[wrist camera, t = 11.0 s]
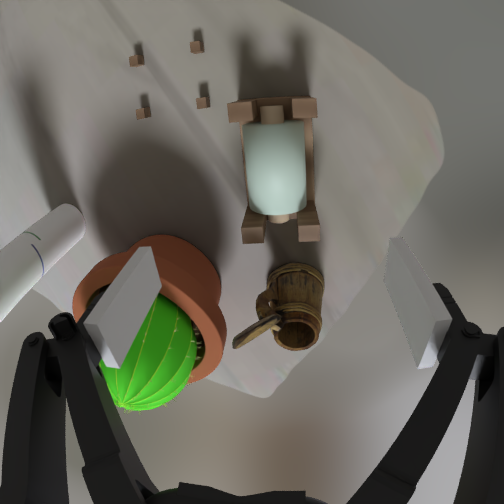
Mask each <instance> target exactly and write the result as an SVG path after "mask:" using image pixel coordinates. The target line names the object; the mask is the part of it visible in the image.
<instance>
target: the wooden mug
mask: <svg viewBox="0 0 504 504" xmlns="http://www.w3.org/2000/svg"><path fill="white" fill-rule="evenodd" d="M323 293H324V279H323V277H322V275H321V274H320V272H319V271H318V270H316V269H315V268H313V267H312V266H309V265H307V264H302V263H289V264H286V265H283V266H281V267H279V268H278V269H276V270H275V271H274V272H272V273H271V274H270V276H269V278H268V281H267V289H266V291H264V292H262V293H261V294H259V295H258V298H257V300H256V311H257V315H258V318H259V320H260V321H258V322H256V323H254V324H253V325H251V326H250V327H248V328H247V329H245V330H244V331H242V332H241V333H240V334H238V335H237V336H235V337H234V339H233V342H232V345H233V348H234V349H237V348H239V347H241V346H243V345H244V344H246V343H248V342H249V341H251V340H253V339H254V338H256V337H257V336H259V335H260V334H262V333H263V332H265V331H266V330H268V329H269V328H271V332H272V334H273V335H274V339H275V341H276V342H277V344H279V345H280V346H281V347H283V348H285V349H288V350H291V351H298V350H304V349H308V348H310V347H311V346H313V345H314V344H315V343H316V342H317V340H318V337H319V333H320V330H321V327H322V318H321V306H322V297H323ZM269 302H270V306H269Z"/></svg>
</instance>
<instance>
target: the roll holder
mask: <svg viewBox="0 0 504 504" xmlns="http://www.w3.org/2000/svg"><path fill="white" fill-rule="evenodd" d="M275 105H283V111H284V120H298V121H303V122H304V138H305V163H306V200H307V204H306V207H305V208H304V209H302V210H300V211H298V212H295V213H291V214H289V219H297V226H298V238H299V242H309V241H320V223H319V219H318V215H317V211H316V207H315V197H314V158H313V134H312V118H317V102H316V98H313V97H310V96H287V97H269V98H255V99H243V100H237V101H236V102H232V103H228V104H227V107H228V116H229V123H231V122H239V123H240V133H241V142H242V152H243V162H244V172H245V182H246V191H247V201H248V206H247V209H246V213H245V216H244V220H243V223H242V227H241V232H242V240H243V244H251V243H264V237H265V229H266V221H267V220H268V215H264V214H260V213H256V212H254V211H252V210H251V209H250V206H249V196H248V185H247V174H246V164H245V153H244V142H243V132H242V125H243V124H246V123H251V122H259V121H261V114H260V107H262V106H275Z"/></svg>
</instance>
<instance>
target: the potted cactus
mask: <svg viewBox="0 0 504 504" xmlns="http://www.w3.org/2000/svg"><path fill="white" fill-rule="evenodd" d="M149 246H151V249H152V252H153V256H154V260H155V263H156V267H157V271H158V274H159V278H160V281H161V285H162V287H161V289H160V291H159V293H158V295H157V296H156V298H155V300H154V302H153V304H152V306H151V308H150V310H149V312H148V314H147V315H146V317H145V319H144V321H143V323H142V325H141V327H140V329H139V331H138V333H137V335H136V337H135V339H134V341H133V343H132V345H131V347H130V349H129V351H128V353H127V355H126V357H125V359H124V361H123V363H122V365H121V367H120V369H119V368H112V367H107V366H106V365H105V363H104V361H103V359H101V361H100V362H99V366H100V367H101V369H102V372H103V375H104V378H105V380H106V383H107V386H108V388H109V391H110V394H111V396H112V399H113V401H114V404H115V405H118V406H119V407H124V408H125V410H126V409H128V410H129V409H131V410H137V411H140V410H149V409H154V408H157V407H159V406H161V405H164V404H165V403H166V402H168V401H170V400H171V399H173V398H174V397H175V396H177V395H178V394H179V393H180V392H181V390H182V389H183V388H184V386H185V385H186V384H189V383H192V382H196V381H198V380H200V379H202V378H204V377H206V376H207V375H209V374H210V373H211V372H213V371H214V370H215V368H216V367H217V366H218V364H219V363H220V361H221V358H222V355H223V350H224V346H225V341H226V336H227V328H226V323H225V319H224V316H223V314H222V312H221V310H220V308H219V306H218V304H219V300H220V296H221V283H220V279H219V277H218V274H217V272H216V270H215V268H214V267H213V265H212V264H211V262H210V261H209V260H208V259H207V257H206V256H205V255H204V254H203V253H202V252H201V251H200V250H198V249H197V248H196V247H195V246H193V245H192V244H190V243H189V242H187V241H185V240H183V239H180V238H178V237H175V236H171V235H153V236H149V237H146V238H144V239H141V240H140V241H138V242H136V243H135V244H134V245H133V246H131V247H130V248H129V249H128V251H127V252H122V253H117V254H114V255H111V256H109V257H107V258H105V259H103V260H102V261H100V262H99V263H98V264H96V265H95V266H94V267H93V268H92V270H91V271H90V272H89V273H88V274H87V275H86V276H85V278H84V279H83V280H82V281H81V282H80V284H79V285H78V287H77V289H76V291H75V294H74V297H73V306H72V307H73V314H74V318H75V321H76V323H77V322H78V320H79V319H80V317H81V316H82V314H83V313H84V312H85V310H86V309H87V307H88V306H89V305H90V303H91V302H92V301H93V299H94V298H95V297H96V296H97V295H99V294H100V293H101V292H106V290H107V289H108V287H109V286H110V285H111V283H112V282H113V281H114V279H115V278H116V277H117V275H118V274H119V273H120V271H121V270H122V269H123V267H124V266H125V265H126V263H127V262H128V261H129V259H130V258H131V257H132V256H133V254H134V253H135V252H136V250H137V249H138V248H139V247H149Z"/></svg>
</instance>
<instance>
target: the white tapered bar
mask: <svg viewBox="0 0 504 504" xmlns="http://www.w3.org/2000/svg"><path fill="white" fill-rule="evenodd" d="M85 231H86V225H85V220H84V218H83V215H82V214H81V212H80V211H79V210H78V209H77V208H76V207H75V206H73V205H71V204H67V203H65V204H61V205H60V206H58V207H57V208H55V209H54V210H52V211H51V212H50V213H48V214H47V215H45V216H44V217H43V218H41V219H40V220H39V221H37V222H36V223H35V224H33V225H32V226H31V227H29V228H28V229H27V230H25V231H24V232H23V233H22V234H20V235H19V236H18V237H16V238H15V239H14V240H13V241H11V242H10V243H9V244H8V245H6V246H5V247H4V248H3V249H2V250H0V322H1V321H2V320H3V319H4V318H5V316H6V315H7V314H8V313H9V312H10V311H11V310H12V308H13V307H14V306H15V305H16V304H17V303H18V302H19V301H20V300H21V298H22V297H23V296H24V295H25V294H26V293H27V292H28V291H29V290H30V289H31V288H32V287H33V286H34V284H35V283H36V282H37V281H38V280H39V279H40V278H41V277H42V276H43V275H44V274H45V273H46V272H47V271H48V270H49V269H50V268H51V267H52V266H53V265H54V264H55V263H56V262H57V261H58V260H59V259H60V258H61V257H62V256H63V255H64V254H65V253H66V252H67V251H68V250H69V249H71V248H72V247H73V246H74V245H75V244H76V243H77V242H78V241H79V240H80V239H81V238H82V237H83V236H84V234H85Z"/></svg>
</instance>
